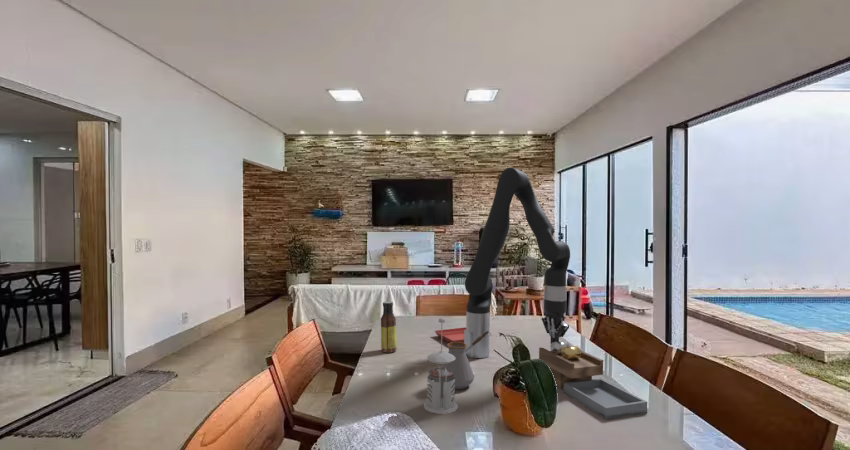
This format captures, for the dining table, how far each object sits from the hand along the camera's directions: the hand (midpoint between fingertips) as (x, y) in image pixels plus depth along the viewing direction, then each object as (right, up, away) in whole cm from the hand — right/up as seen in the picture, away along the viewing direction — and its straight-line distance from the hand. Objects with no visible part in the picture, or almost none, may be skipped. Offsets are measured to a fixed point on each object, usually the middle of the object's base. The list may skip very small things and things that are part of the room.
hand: (554, 347), depth 143 cm
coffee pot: (-31, -9, -8) cm, 34 cm away
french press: (-41, -9, -28) cm, 50 cm away
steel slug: (+1, -1, -4) cm, 4 cm away
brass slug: (+3, -1, -10) cm, 10 cm away
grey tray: (+7, -9, -23) cm, 26 cm away
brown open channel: (+2, -9, -8) cm, 12 cm away
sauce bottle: (-60, -8, +23) cm, 65 cm away
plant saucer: (-29, -9, +41) cm, 51 cm away
